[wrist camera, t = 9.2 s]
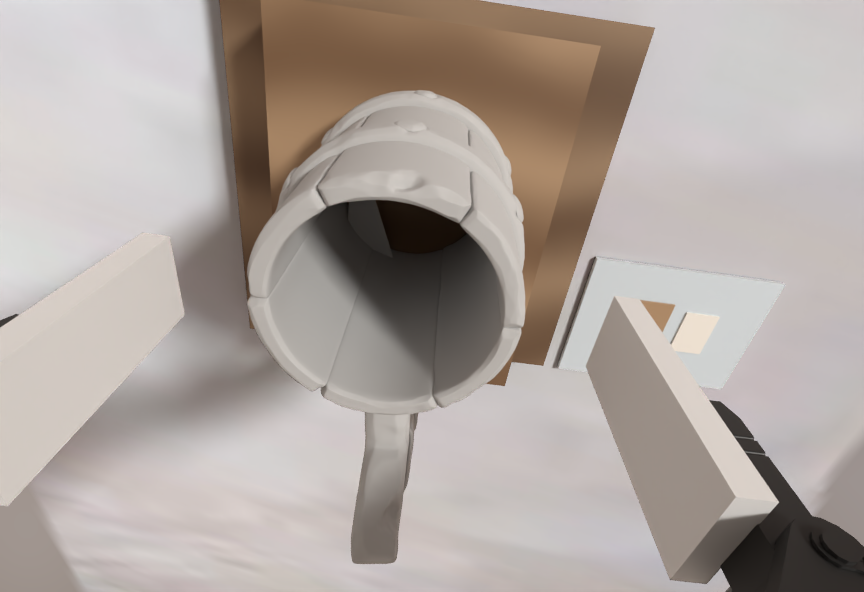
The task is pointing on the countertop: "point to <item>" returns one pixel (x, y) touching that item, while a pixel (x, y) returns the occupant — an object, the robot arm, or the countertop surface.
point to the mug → (392, 282)
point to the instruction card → (676, 313)
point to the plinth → (452, 78)
